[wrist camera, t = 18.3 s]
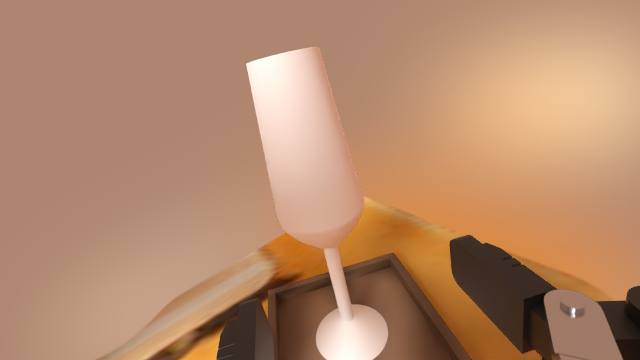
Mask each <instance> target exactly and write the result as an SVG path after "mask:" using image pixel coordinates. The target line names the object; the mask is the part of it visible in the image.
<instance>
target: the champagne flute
mask: <svg viewBox="0 0 640 360" xmlns="http://www.w3.org/2000/svg"><path fill="white" fill-rule="evenodd" d="M246 65H247V70H248V75H249V80H250V85H251V90H252V95H253V100H254V104H255V110H256V115H257V120H258V125H259V130H260V135H261V140H262V144H263V150H264V155H265V160H266V164H267V170H268V175H269V179H270V184H271V190H272V195H273V200H274V205H275V209H276V214H277V219H278V222H279V224H280V226H281V227H282V229H283V230H284V231H285V232H286V233H288V234H289V235H290V236H291V237H293V238H294V239H296V240H298V241H299V242H302V243H304V244H307V245H310V246H313V247H316V248H320V249H323V250H324V254H325V258H326V262H327V266H328V270H329V274H330V277H331V281H332V285H333V289H334V293H335V297H336V301H337V305H338V308H337V309H335V310H333V311H332V312H330V313H329V314H328V315H327V316H326V317H325V318H324V319H323V320H322V322H321V323H320V325H319V327H318V329H317V333H316V344H317V348H318V350H319V352H320V353H321V355H322V356H323V357H324V358H325V359H326V360H373V359H374V358H375V357H377V356H378V355H379V354H380V353H381V351H382V350H383V349H384V347H385V344H386V342H387V338H388V328H387V324H386V322H385V320H384V318H383V317H382V316H381V314H380V313H378V312H377V311H376V310H374V309H372V308H370V307H368V306H365V305H358V304H353V305H351V302H350V297H349V293H348V289H347V285H346V281H345V276H344V272H343V268H342V264H341V259H340V255H339V251H338V247H337V245H338V244H340V243H341V242H342V241H343V240H344V239H345V238H346V237H347V236H348V235H349V234H350V232H351V231H352V230H353V229H354V228H355V226H356V224H357V223H358V221H359V219H360V217H361V214H362V212H363V208H364V198H363V195H362V191H361V188H360V185H359V181H358V178H357V174H356V171H355V168H354V164H353V161H352V158H351V154H350V151H349V148H348V144H347V140H346V137H345V134H344V130H343V127H342V124H341V120H340V117H339V113H338V110H337V107H336V103H335V100H334V96H333V93H332V90H331V86H330V83H329V79H328V76H327V73H326V69H325V66H324V63H323V59H322V56H321V53H320V49H319V47H310V48H304V49H299V50H295V51H290V52H286V53H281V54H277V55H273V56H269V57H266V58H262V59H258V60H255V61H253V62H250V63H247V64H246Z"/></svg>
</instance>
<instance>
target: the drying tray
mask: <svg viewBox="0 0 640 360" xmlns="http://www.w3.org/2000/svg"><path fill="white" fill-rule="evenodd" d="M343 272H344V276H345V281H346V285H347V289H348V293H349V297H350V302H351V305H353V304H358V305H365V306H368V307H370V308H372V309H374V310H376V311H377V312H378V313H380V314H381V316H382V317H383V318H384V320H385V322H386V324H387V328H388V338H387V342H386V344H385V347H384V349H383V350H382V351H381V353H380V354H379V355H378V356H377V357H375V358H374V359H373V360H472V359H471V358H470V356H469V355H468V354H467V352H466V351H465V350H464V348H463V347H462V346H461V344H460V343H459V341H458V340H457V339H456V337H455V336H454V335H453V333H452V332H451V331H450V329H449V328H448V326H447V325H446V324H445V322H444V321H443V320H442V318H441V317H440V315H439V314H438V313H437V311H436V310H435V309H434V307H433V306H432V305H431V303H430V302H429V300H428V299H427V298H426V296H425V295H424V294H423V292H422V291H421V290H420V288H419V287H418V285H417V284H416V283H415V281H414V280H413V279H412V277H411V276H410V274H409V273H408V272H407V270H406V269H405V268H404V266H403V265H402V264H401V262H400V261H399V259H398V258H397V257H396V255H395V254H394V253H390V254H387V255H384V256H381V257H377V258H374V259H371V260H367V261H364V262H361V263H357V264H354V265H351V266H347V267H344V268H343ZM337 308H338V305H337V301H336V297H335V293H334V289H333V285H332V281H331V277H330V274H329V272H327V273H324V274H321V275H318V276H314V277H311V278H308V279H304V280H301V281H298V282H294V283H291V284H288V285H284V286H281V287H278V288H274V289H271V290H268V322H269V325H270V328H271V331H272V336H273V346H274V360H326V359H325V358H324V357H323V356H322V355H321V353H320V352H319V350H318V348H317V344H316V333H317V329H318V327H319V325H320V323H321V322H322V320H323V319H324V318H325V317H326V316H327V315H328V314H329V313H330V312H332V311H333V310H335V309H337Z"/></svg>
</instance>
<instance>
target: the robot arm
mask: <svg viewBox="0 0 640 360" xmlns="http://www.w3.org/2000/svg"><path fill="white" fill-rule="evenodd" d="M450 255H451V268H452V274H453V276H454V279H455V281H456V282H457V284H458V285H459V286H460V287H461V288H462V290H463V291H464V292H465V293H466V294H467V295H468V296H469V297H470V298H471V299H472V300H473V301H474V302H475V304H476V305H477V306H478V307H479V308H480V309H481V310H482V311H483V312H484V313H485V314H486V315H487V316H488V317H489V319H490V320H491V321H492V322H493V323H494V324H495V325H496V326H497V327H498V328H499V329H500V330H501V331H502V332H503V334H504V335H505V336H506V337H507V338H508V339H509V340H510V341H511V342H512V343H513V344H514V345H515V346H516V347H517V349H518V350H519V351H520V352H521V353H522V354H523V353H526V352H528V351H531V350H534V349H535V350H536V351H537V352H538V353H539V354H540V360H640V286H637V287H633V288H631V289H629V291H628V293H627V298H626V301H601V302H596V301H594V300H593V299H591V298H590V297H588V296H586V295H584V294H582V293H579V292H576V291H572V290H564V289H556V288H555V287H553V286H552V285H551V284H549V283H548V282H547V281H545V280H544V279H542V278H541V277H540V276H538V275H537V274H535V273H534V272H533V271H531V270H530V269H529V268H527V267H526V266H524V265H521V263H520V262H519V261H517V260H516V259H515V258H512V256H511V255H509V254H508V253H506V252H505V251H504V250H502V249H501V248H499V247H496V246H493V245H491V244H488V243H484V244H482V243H480V242H479V241H478V240H476V239H475V238H474V237H473V236H471V235H466V236H463V237H459V238H456V239H453V240H451V241H450ZM218 348H219V350H218V353H217V360H274V346H273V336H272V331H271V328H270V325H269V322H268V319H267V317H266V314H265V311H264V309H263V306H262V304H261V301H260V299H259V298H256V299H253V300H250V301H247V302H243V303H240V304H239V307H238V316H237V319H235V320H232V321H229V322H228V323H227V325H226V326H225V328H224V330H223V332H222V333H221V336H220V341H219V347H218Z"/></svg>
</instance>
